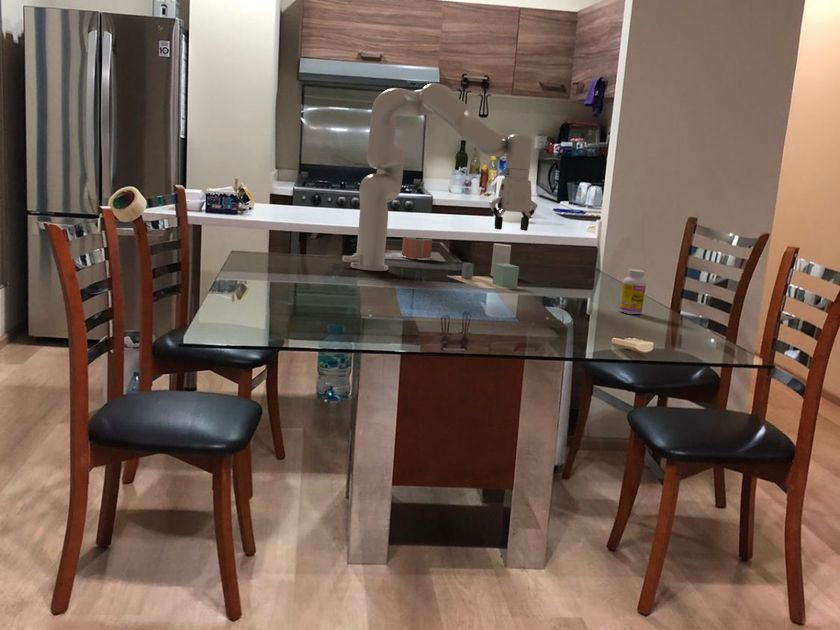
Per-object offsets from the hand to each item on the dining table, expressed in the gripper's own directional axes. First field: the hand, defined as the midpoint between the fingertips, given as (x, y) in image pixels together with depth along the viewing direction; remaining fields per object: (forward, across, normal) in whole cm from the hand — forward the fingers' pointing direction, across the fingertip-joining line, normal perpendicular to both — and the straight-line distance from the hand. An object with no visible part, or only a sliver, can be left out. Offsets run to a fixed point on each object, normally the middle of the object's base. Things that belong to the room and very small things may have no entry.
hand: (511, 229), depth 277 cm
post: (+18, -7, +12) cm, 23 cm away
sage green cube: (+18, 0, 0) cm, 18 cm away
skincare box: (+19, +10, +19) cm, 29 cm away
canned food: (+19, +1, +64) cm, 67 cm away
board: (+19, -4, +6) cm, 20 cm away
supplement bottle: (+20, +21, -36) cm, 46 cm away
